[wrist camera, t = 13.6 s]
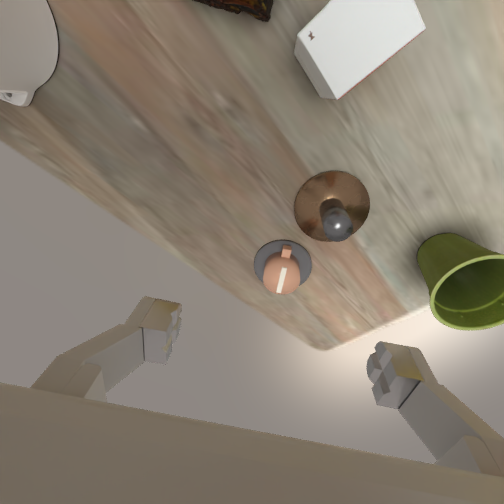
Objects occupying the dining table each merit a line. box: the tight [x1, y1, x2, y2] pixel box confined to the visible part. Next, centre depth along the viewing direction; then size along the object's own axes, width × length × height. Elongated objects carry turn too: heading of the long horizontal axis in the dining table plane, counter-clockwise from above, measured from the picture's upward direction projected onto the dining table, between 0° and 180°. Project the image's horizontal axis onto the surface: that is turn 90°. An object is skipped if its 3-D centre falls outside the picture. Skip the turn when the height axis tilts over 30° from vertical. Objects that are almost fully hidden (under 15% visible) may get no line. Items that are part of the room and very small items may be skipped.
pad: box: [254, 240, 312, 285], centre depth 49 cm, size 10×10×1 cm
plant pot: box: [417, 233, 504, 330], centre depth 40 cm, size 12×12×11 cm
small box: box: [294, 0, 426, 100], centre depth 28 cm, size 8×6×13 cm
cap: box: [263, 245, 300, 294], centre depth 47 cm, size 9×6×4 cm, turn 172°
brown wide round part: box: [294, 171, 370, 242], centre depth 39 cm, size 11×11×8 cm
